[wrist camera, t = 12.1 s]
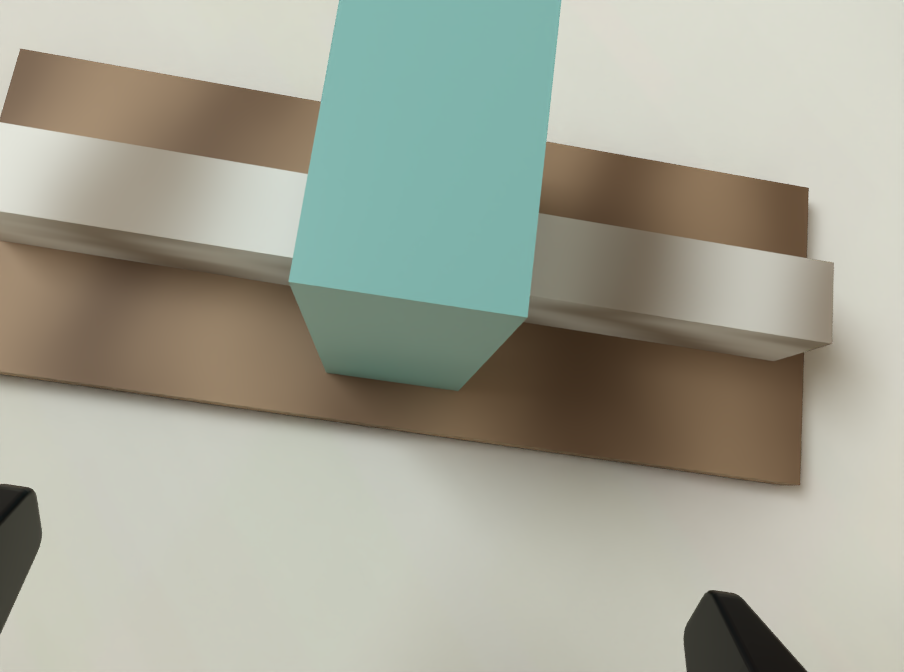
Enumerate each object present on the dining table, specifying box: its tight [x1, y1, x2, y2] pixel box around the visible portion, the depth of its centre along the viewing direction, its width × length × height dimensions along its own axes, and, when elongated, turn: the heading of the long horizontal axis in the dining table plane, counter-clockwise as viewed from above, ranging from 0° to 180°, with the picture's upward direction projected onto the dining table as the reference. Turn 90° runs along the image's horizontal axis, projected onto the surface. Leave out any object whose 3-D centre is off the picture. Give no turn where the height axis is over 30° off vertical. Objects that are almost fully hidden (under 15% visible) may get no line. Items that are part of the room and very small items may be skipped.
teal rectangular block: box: [288, 0, 561, 391], centre depth 18 cm, size 7×4×10 cm, turn 172°
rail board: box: [0, 49, 834, 485], centre depth 21 cm, size 26×10×4 cm, turn 82°
